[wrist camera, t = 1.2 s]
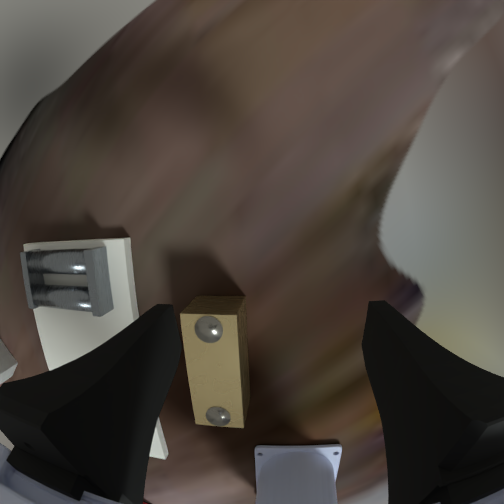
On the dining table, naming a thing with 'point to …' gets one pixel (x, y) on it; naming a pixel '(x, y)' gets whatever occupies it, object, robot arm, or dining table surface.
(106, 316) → the board
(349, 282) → the dining table surface
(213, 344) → the brass block
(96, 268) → the chain ends
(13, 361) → the tea bag
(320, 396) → the dining table surface
